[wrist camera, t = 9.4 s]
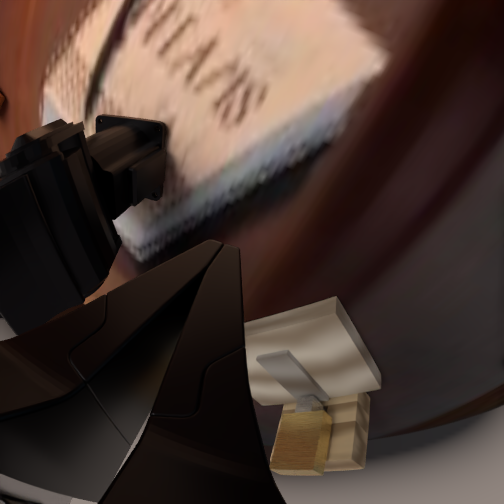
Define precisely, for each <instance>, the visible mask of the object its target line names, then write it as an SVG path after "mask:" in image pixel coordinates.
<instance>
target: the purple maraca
mask: <svg viewBox="0 0 504 504" xmlns="http://www.w3.org/2000/svg"><path fill="white" fill-rule="evenodd" d="M4 99H5V97H4V96H3V95H2V94H1V93H0V109H1V107H2V104H3V102H4Z"/></svg>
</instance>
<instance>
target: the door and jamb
mask: <svg viewBox="0 0 504 504" xmlns="http://www.w3.org/2000/svg"><path fill="white" fill-rule="evenodd" d="M244 327H245V343H246V347H245V348H246V356H247V367H248V376H249V384H250V389H251V395H252V397H253V398H254V399H255V400H256V401H257V402H259V403H260V404H261V405H262V406H265V405H278V404H284V406H283V411H282V415H281V419H280V423H279V427H278V431H277V435H276V439H275V443H274V447H273V451H272V454H271V458H270V461H271V460H272V456H273V452H274V448H275V444H276V440H277V436H278V432H279V428H280V424H281V420H282V416H283V414H288V413H295V409H296V404H297V399H298V398H301V397H309V396H314V397H315V398H316V399H317V400H318V401H319V402H320V403H321V404H322V405H323V406H324V407H325V408H326V409H327V414H328V415H329V416H330V417H331V418H332V425H331V431H330V438H329V444H328V451H327V456H326V462H325V468H324V471H341V470H355V469H364V467H365V460H366V450H367V440H368V427H369V412H370V397H369V396H368V395H367V393H366V392H368V391H373V390H377V389H381V373H380V371H379V369H378V367H377V365H376V364H375V362H374V360H373V358H372V356H371V355H370V353H369V351H368V349H367V347H366V346H365V344H364V342H363V340H362V339H361V337H360V335H359V333H358V332H357V330H356V328H355V326H354V325H353V323H352V321H351V320H350V318H349V316H348V314H347V313H346V311H345V309H344V308H343V306H342V304H341V303H340V301H339V299H338V298H337V296H335V297H332V298H329V299H326V300H322V301H319V302H316V303H313V304H309V305H306V306H303V307H299V308H296V309H293V310H289V311H286V312H282V313H279V314H275V315H272V316H268V317H265V318H261V319H257V320H254V321H250V322H246V323H244Z"/></svg>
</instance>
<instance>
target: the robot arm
mask: <svg viewBox="0 0 504 504" xmlns="http://www.w3.org/2000/svg"><path fill="white" fill-rule="evenodd" d="M101 119H102V122H101ZM157 126H159V127H160V131H158V130H157ZM84 129H85V128H84V125H83V121H82V122H80V123H77V124H73V122H71V123H69V124H67V123H66V122H65V121H64V120H62V119H59V120H56V121H54V122H52V123H49V124H47V125H45V126H42V127H40V128H37V129H35V130H32V131H30V132H28V133H25V134H23V135H21V136H19V137H17V138H16V140H15V142H14V145H13V147H12V149H11V152H9V153H7V154H6V158H5V159H3V160H2V161H0V319H2V320H5V321H6V322H7V323H8V325H9V326H10V328H11V329H12V330H13V331H14V333H15V334H16V335H18V336H16V337H13V338H11V339H7V340H4V341H0V504H70V502H71V500H72V498H73V497H74V498H78V499H83V500H87V501H92V502H97V503H98V504H286V502H285V500H284V499H283V497H282V495H281V493H280V491H279V489H278V487H277V485H276V483H275V481H274V478H273V476H272V473H271V470H270V467H269V464H268V461H267V457H266V454H265V450H264V446H263V442H262V438H261V434H260V430H259V426H258V422H257V417H256V413H255V409H254V405H253V400H252V395H251V389H250V384H249V376H248V367H247V356H246V348H245V347H246V343H245V327H244V311H243V295H242V278H241V260H240V249H239V248H237V247H234V246H231V245H227V244H226V245H224V244H223V243H221V242H218V241H214V240H207V241H205V242H203V243H201V244H199V245H197V246H195V247H193V248H192V249H190V250H188V251H186V252H184V253H182V254H180V255H178V256H176V257H174V258H172V259H170V260H168V261H166V262H164V263H163V264H161V265H159V266H157V267H155V268H153V269H151V270H149V271H147V272H145V273H144V274H142V275H140V276H138V277H136V278H134V279H132V280H130V281H129V282H127V283H125V284H123V285H121V286H119V287H117V288H116V289H114V290H112V291H110V292H108V293H107V295H103V296H101V297H99V298H97V299H95V300H93V301H92V302H90V303H88V304H86V305H84V306H82V307H80V308H78V309H76V310H74V311H72V312H70V313H68V314H65V315H63V316H62V317H59V318H57V319H55V320H53V321H50V322H48V323H46V322H47V321H48V320H50V319H51V318H52V317H54V316H55V315H57V314H59V313H60V312H62V311H64V310H66V309H68V308H71V307H73V306H76V305H79V304H82V303H84V301H85V298H87V297H88V296H90V295H91V294H93V293H94V292H95V291H96V290H98V289H99V288H100V287H101V285H102V284H103V283H104V281H105V279H106V278H107V277H108V275H109V270H110V268H111V266H112V264H113V261H114V259H115V257H116V255H117V253H118V250H119V248H120V246H121V244H122V240H121V238H120V235H118V234H117V231H116V229H115V226H114V223H113V221H112V220H115V219H117V218H118V217H119V216H120V215H121V214H122V213H123V212H124V211H126V210H127V209H128V208H129V207H130V206H131V205H132V206H136V205H137V204H139V203H140V202H141V201H142V200H143V199H144V198H147V199H151V200H154V201H157V200H159V199H160V198H161V197H162V194H163V182H164V181H165V160H166V152H165V150H164V146H165V130H166V127H165V124H164V123H163V122H161V121H155V120H148V119H141V118H133V117H125V116H115V115H106V114H102V115H99V116H97V117H96V134H93V135H91V136H89V137H87V138H85V135H84V131H83V130H84ZM154 192H155V193H156V194H157V195H155V193H154ZM151 409H152V410H151ZM150 411H151V413H150ZM149 413H150V417H149V419H148V421H147V424H146V426H145V429H144V431H143V433H142V435H141V437H140V440H139V441H138V443H137V445H136V446H135V448H134V450H133V451H132V452H131V454H130V455H129V457H128V459H127V460H126V461H125V463H124V465H123V466H122V468H121V469H120V470H119V472H118V473H117V471H118V469H119V468H120V466H121V464H122V462H123V460H124V458H125V457H126V455H127V453H128V451H129V449H130V447H131V446H130V445H132V443H133V441H134V440H135V438H136V436H137V434H138V432H139V431H140V429H141V427H142V425H143V423H144V421H145V420H146V418H147V416H148V414H149ZM116 473H117V475H116ZM115 475H116V477H115ZM114 477H115V478H114ZM113 479H114V480H113Z"/></svg>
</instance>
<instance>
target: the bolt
mask: <svg viewBox="0 0 504 504" xmlns="http://www.w3.org/2000/svg"><path fill="white" fill-rule="evenodd" d="M331 425H332V418H331V417H330V416H329V415H328V414H327V409H326V408H325V407H324V406H323V405H322V404H321V403H320V402H319V401H318V400H317V399H316V398H315V397H314V396H309V397H301V398H298V399H297V404H296V409H295V413H288V414H283V416H282V420H281V424H280V428H279V432H278V436H277V440H276V444H275V448H274V452H273V456H272V460H271V463H270V470H272V471H274V472H276V473H278V474H280V475H303V476H306V475H308V476H314V475H315V476H316V475H318V476H319V475H323V473H324V468H325V462H326V456H327V451H328V444H329V438H330V431H331Z"/></svg>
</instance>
